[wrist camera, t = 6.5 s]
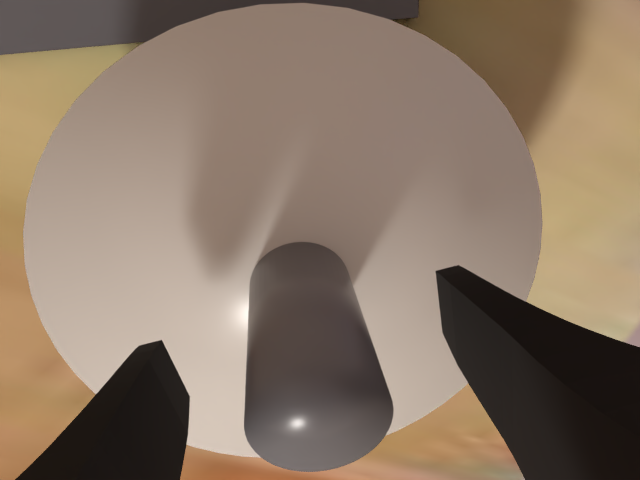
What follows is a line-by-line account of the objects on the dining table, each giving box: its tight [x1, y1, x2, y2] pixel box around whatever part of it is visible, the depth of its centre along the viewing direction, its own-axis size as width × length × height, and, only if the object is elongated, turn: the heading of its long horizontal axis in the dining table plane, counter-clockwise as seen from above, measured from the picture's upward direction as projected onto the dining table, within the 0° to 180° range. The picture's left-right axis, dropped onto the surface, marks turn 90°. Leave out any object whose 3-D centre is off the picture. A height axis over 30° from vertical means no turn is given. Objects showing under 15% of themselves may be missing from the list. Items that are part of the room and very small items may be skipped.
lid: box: [23, 3, 542, 472], centre depth 11 cm, size 15×15×6 cm
